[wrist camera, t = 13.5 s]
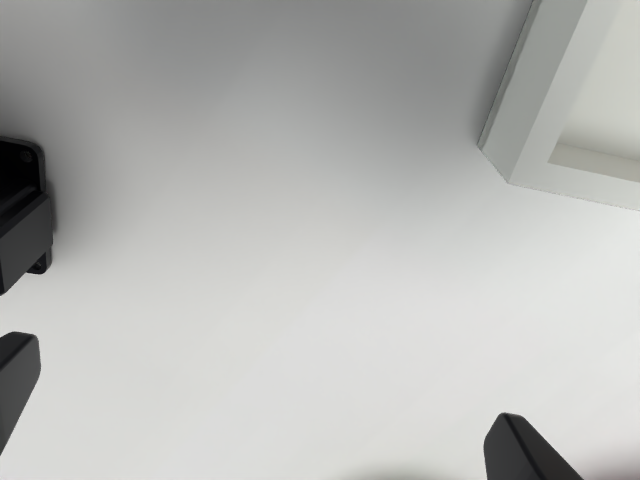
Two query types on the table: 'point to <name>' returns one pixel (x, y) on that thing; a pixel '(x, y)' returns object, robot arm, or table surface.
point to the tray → (572, 103)
